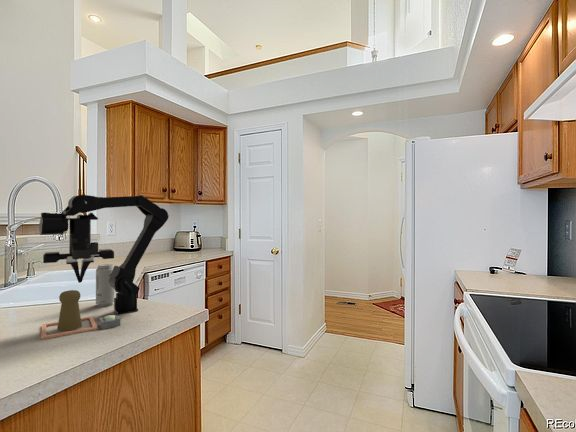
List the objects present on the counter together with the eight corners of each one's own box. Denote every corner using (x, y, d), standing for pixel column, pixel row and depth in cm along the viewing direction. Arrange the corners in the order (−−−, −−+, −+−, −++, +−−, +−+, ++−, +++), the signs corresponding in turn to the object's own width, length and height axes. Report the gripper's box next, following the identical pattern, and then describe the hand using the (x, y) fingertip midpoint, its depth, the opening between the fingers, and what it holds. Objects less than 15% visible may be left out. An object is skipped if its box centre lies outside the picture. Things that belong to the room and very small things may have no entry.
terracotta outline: (92, 318, 103) (92, 316, 103) (97, 329, 93) (97, 327, 93) (42, 326, 95) (42, 324, 95) (41, 339, 85) (41, 337, 85)
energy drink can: (94, 304, 119) (94, 264, 119) (111, 301, 123) (112, 263, 123) (97, 307, 114) (98, 266, 114) (116, 304, 118) (116, 265, 118)
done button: (114, 322, 98) (114, 314, 98) (115, 324, 96) (115, 316, 96) (103, 323, 97) (104, 316, 97) (105, 326, 94) (105, 318, 94)
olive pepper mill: (82, 328, 93) (82, 291, 93) (56, 332, 90) (57, 294, 90) (81, 323, 98) (81, 287, 98) (57, 326, 95) (57, 290, 95)
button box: (117, 321, 100) (117, 314, 100) (120, 325, 96) (120, 319, 96) (99, 324, 97) (99, 317, 97) (101, 329, 93) (101, 322, 93)
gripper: (43, 236, 89) (42, 291, 89) (117, 234, 101) (116, 283, 100) (43, 234, 98) (43, 284, 98) (111, 232, 109) (111, 277, 109)
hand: (79, 282), depth 101 cm, fingers closed
